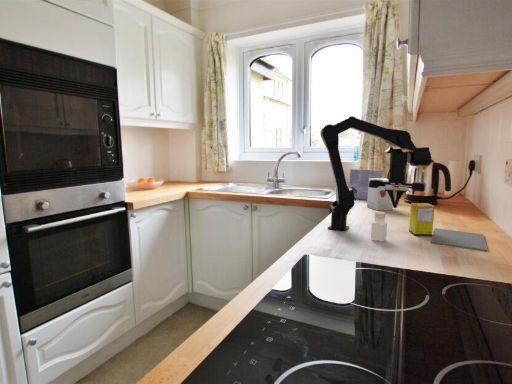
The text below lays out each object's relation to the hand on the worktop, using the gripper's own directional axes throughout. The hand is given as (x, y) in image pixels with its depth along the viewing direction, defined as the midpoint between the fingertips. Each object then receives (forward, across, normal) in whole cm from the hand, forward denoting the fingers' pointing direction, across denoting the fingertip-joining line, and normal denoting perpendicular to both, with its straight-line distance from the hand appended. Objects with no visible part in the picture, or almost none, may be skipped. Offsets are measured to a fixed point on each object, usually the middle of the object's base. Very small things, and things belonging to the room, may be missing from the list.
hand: (395, 207), depth 116 cm
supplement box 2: (+9, +13, -40) cm, 43 cm away
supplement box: (+9, -9, 0) cm, 13 cm away
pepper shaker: (+9, +2, +16) cm, 18 cm away
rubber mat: (+8, -20, 0) cm, 22 cm away
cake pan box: (+9, +26, -64) cm, 70 cm away
